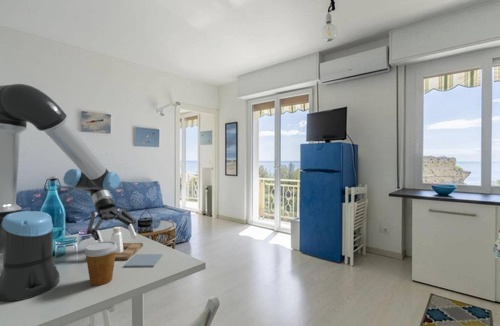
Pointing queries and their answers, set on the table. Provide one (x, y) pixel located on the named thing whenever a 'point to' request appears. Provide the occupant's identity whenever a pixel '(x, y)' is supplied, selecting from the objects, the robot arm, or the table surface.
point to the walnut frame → (128, 251)
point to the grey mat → (143, 260)
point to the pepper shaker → (117, 239)
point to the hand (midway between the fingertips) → (119, 241)
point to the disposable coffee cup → (100, 261)
